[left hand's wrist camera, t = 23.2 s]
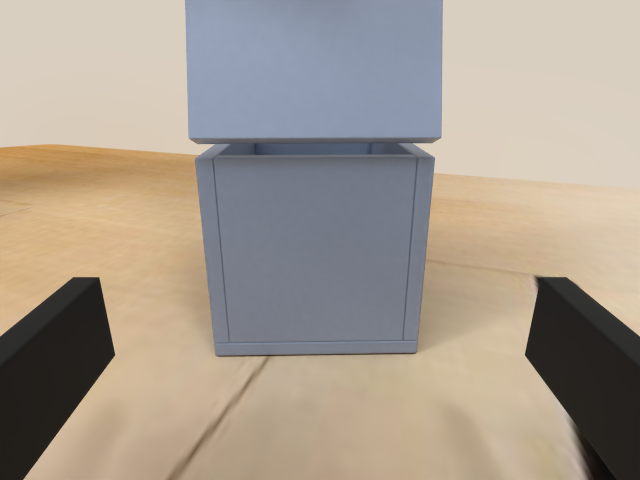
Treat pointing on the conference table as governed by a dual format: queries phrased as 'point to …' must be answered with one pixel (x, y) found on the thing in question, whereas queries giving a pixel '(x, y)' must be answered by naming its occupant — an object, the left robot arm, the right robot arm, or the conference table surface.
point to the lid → (314, 71)
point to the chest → (315, 246)
